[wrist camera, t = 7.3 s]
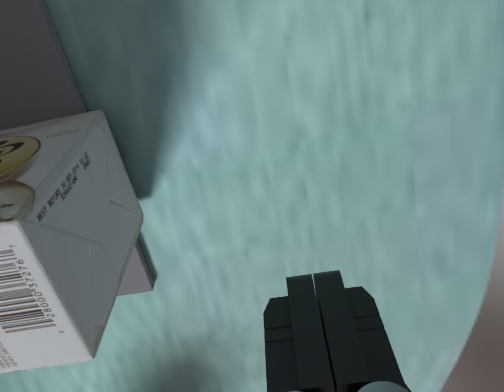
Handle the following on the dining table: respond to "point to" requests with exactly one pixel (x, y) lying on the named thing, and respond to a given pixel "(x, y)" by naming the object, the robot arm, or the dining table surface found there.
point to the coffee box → (61, 238)
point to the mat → (45, 91)
